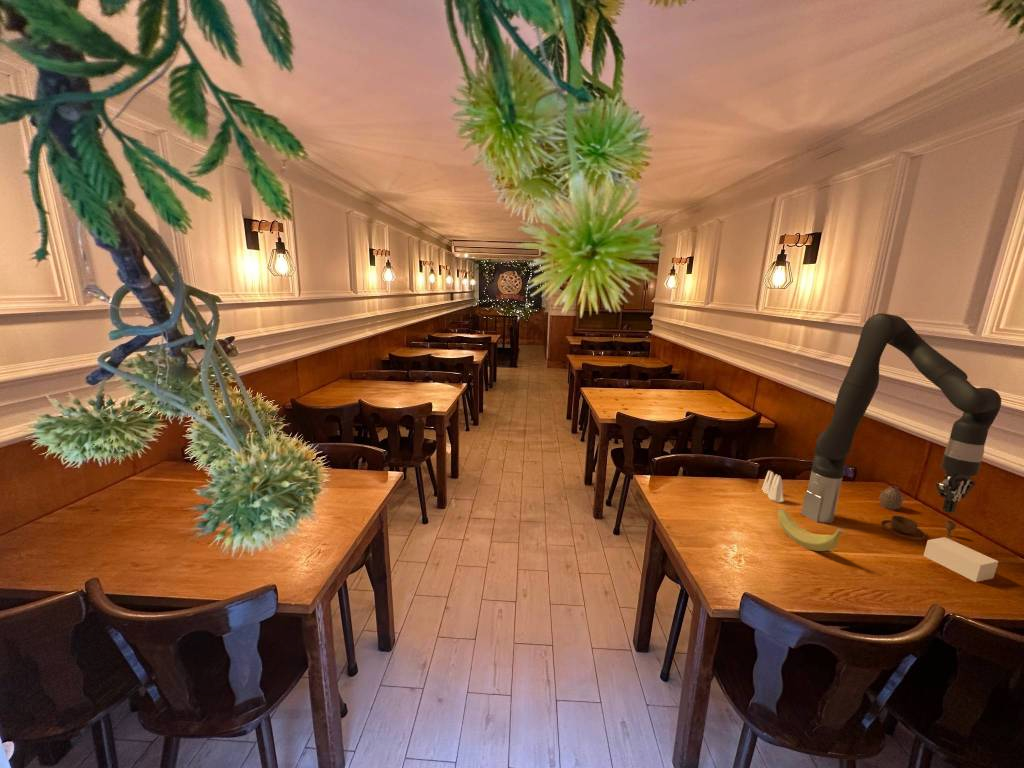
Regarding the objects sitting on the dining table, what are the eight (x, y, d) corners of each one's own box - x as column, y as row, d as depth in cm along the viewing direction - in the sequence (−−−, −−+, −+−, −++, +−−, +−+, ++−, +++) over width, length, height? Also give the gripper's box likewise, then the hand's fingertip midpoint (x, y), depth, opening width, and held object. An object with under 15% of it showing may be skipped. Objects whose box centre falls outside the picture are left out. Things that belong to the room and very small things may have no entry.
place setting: (878, 517, 164) (881, 503, 163) (951, 536, 152) (955, 521, 151) (881, 537, 150) (885, 521, 149) (962, 559, 139) (966, 543, 137)
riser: (975, 583, 126) (980, 565, 125) (923, 557, 138) (927, 540, 137) (992, 579, 128) (998, 561, 127) (940, 553, 141) (944, 537, 139)
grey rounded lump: (905, 512, 168) (910, 491, 166) (887, 511, 168) (892, 490, 166) (890, 503, 174) (895, 483, 172) (873, 503, 174) (878, 482, 172)
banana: (795, 549, 147) (856, 549, 130) (784, 551, 145) (843, 551, 128) (783, 508, 152) (839, 502, 134) (771, 509, 150) (827, 504, 132)
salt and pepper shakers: (783, 506, 169) (788, 479, 166) (771, 504, 170) (776, 478, 167) (771, 492, 180) (775, 467, 178) (760, 491, 181) (764, 466, 179)
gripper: (963, 462, 119) (948, 520, 123) (995, 459, 123) (979, 515, 126) (931, 453, 126) (917, 507, 130) (962, 449, 130) (948, 503, 133)
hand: (948, 511), depth 128 cm, fingers closed
